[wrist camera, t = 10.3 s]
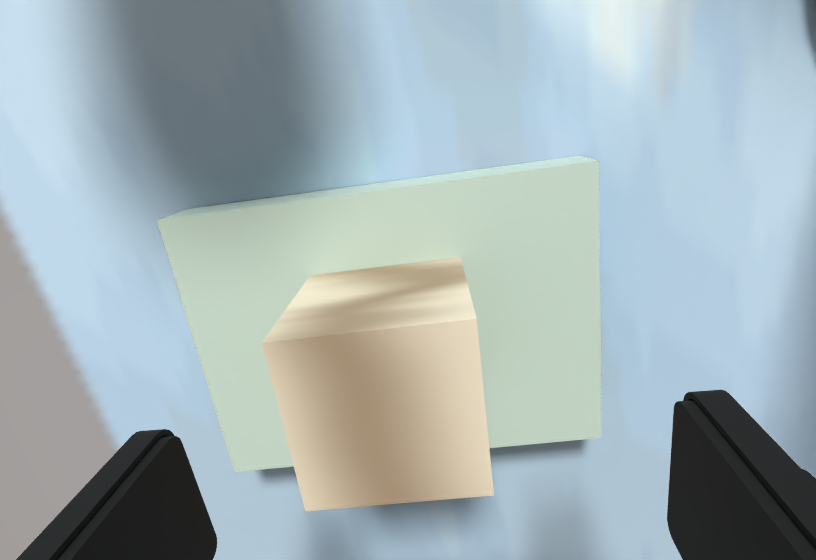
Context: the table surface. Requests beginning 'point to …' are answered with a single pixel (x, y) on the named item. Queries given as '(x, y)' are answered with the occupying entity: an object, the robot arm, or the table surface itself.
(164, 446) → the robot arm
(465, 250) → the sage board
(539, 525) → the table surface
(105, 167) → the table surface
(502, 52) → the table surface
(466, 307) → the birch cube
